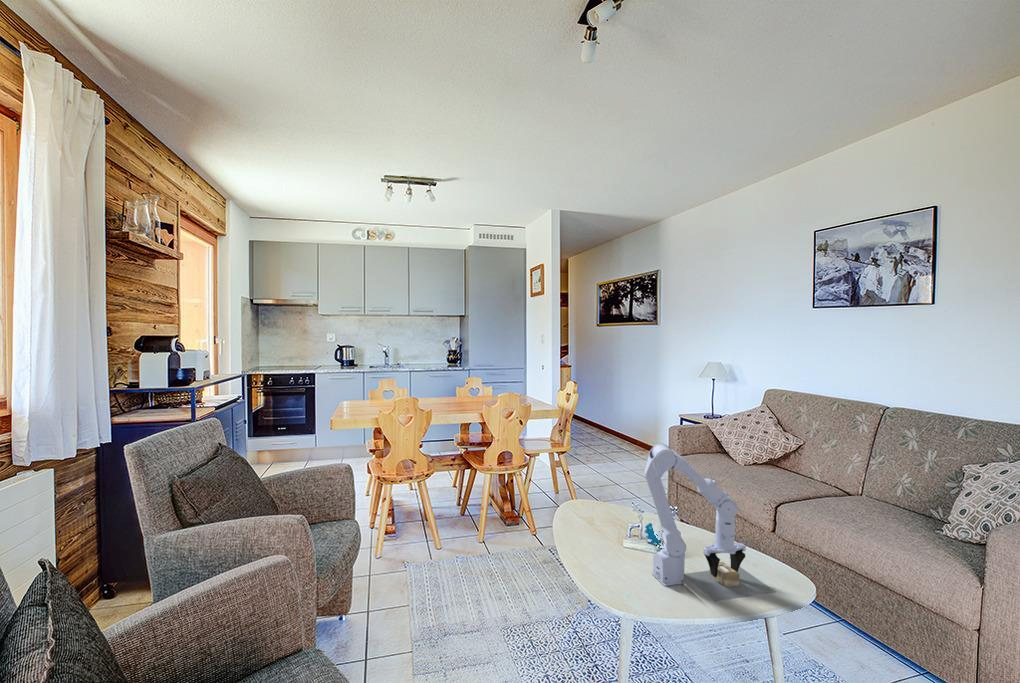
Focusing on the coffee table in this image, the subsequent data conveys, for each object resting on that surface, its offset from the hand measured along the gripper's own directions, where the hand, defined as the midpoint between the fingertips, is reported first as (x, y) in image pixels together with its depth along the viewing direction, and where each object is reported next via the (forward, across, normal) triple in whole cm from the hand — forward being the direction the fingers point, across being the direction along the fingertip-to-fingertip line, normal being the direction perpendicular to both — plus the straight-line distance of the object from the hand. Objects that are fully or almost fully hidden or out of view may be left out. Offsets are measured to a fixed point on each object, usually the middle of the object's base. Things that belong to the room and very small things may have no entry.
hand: (724, 574), depth 154 cm
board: (+3, 0, -2) cm, 3 cm away
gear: (+3, -7, +29) cm, 30 cm away
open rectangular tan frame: (+2, 0, 0) cm, 2 cm away
